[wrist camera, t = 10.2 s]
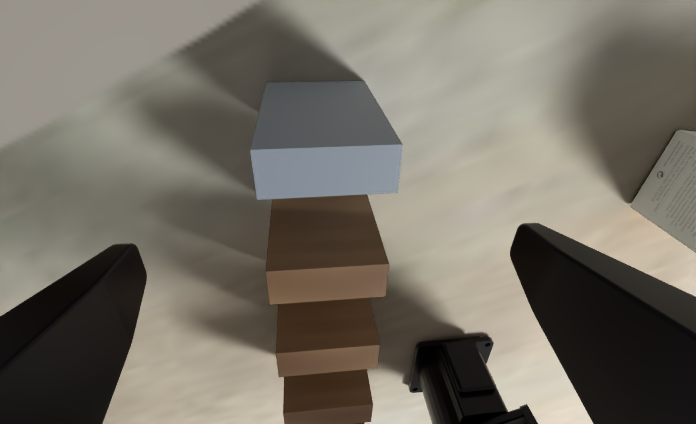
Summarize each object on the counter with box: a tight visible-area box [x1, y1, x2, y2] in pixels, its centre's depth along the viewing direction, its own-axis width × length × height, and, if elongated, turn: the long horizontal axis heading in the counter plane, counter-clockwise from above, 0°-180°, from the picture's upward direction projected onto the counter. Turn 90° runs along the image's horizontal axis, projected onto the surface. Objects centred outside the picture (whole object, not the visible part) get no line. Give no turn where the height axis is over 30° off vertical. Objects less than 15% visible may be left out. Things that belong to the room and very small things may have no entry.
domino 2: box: [266, 194, 389, 305], centre depth 18 cm, size 2×5×8 cm, turn 88°
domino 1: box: [250, 81, 402, 200], centre depth 16 cm, size 2×5×8 cm, turn 89°
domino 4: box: [283, 369, 373, 424], centre depth 24 cm, size 2×5×8 cm, turn 88°
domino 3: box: [276, 298, 380, 377], centre depth 21 cm, size 2×5×8 cm, turn 88°
